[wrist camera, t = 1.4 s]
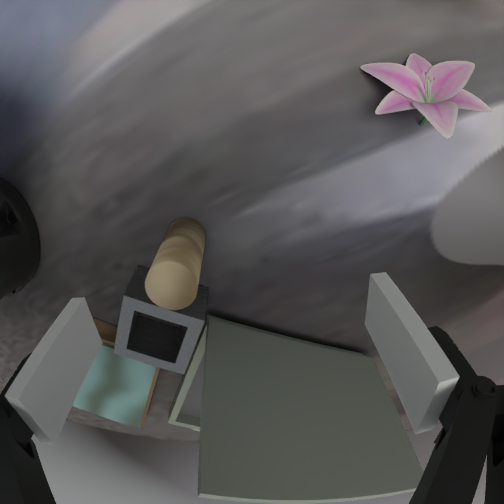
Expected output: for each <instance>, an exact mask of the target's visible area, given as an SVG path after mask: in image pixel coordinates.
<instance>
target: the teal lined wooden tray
mask: <svg viewBox="0 0 504 504" xmlns="http://www.w3.org/2000/svg"><path fill="white" fill-rule="evenodd" d="M92 318H93V317H92ZM93 321H94V323H95V326H96V328H97V331H98V333H99V335H100V338H101V340H102V345H101V347H100V349H99V351H98V353H97V354H96V356H95V358H94V361H93V363H92V365H91V367H90V369H89V371H88V373H87V375H86V377H85V379H84V381H83V383H82V385H81V387H80V390H79V392H78V394H77V396H76V398H75V400H74V403H73V405H72V406H74V407H77V408H79V409H82V410H85V411H87V412H90V413H93V414H96V415H99V416H102V417H105V418H108V419H111V420H114V421H117V422H120V423H123V424H126V425H130V426H133V427H137V428H143V426H144V422H145V418H146V415H147V411H148V408H149V404H150V401H151V397H152V394H153V390H154V387H155V384H156V380H157V377H158V373H159V370H160V368H159V367H155V366H152V365H149V364H146V363H142V362H139V361H136V360H133V359H130V358H127V357H124V356H121V355H118V354H115V353H114V347H115V341H116V335H117V329H118V326H115V325H112V324H109V323H106V322H104V321H101V320H98V319H95V318H93Z"/></svg>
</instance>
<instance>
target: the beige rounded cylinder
mask: <svg viewBox="0 0 504 504" xmlns="http://www.w3.org/2000/svg"><path fill="white" fill-rule="evenodd" d="M205 240H206V233H205V230H204V228H203V226H202V225H201V224H200V223H199V222H198V221H196V220H194V219H192V218H180V219H177V220H175V221H174V222H173V223H172V224H171V225H170V226H169V228H168V230H167V232H166V235H165V237H164V239H163V241H162V243H161V245H160V248H159V250H158V252H157V254H156V256H155V259H154V261H153V263H152V265H151V267H150V270H149V272H148V274H147V277H146V279H145V290H146V293H147V295H148V297H149V298H150V299H151V300H152V301H153V302H154V303H155V304H156V305H158V306H160V307H162V308H164V309H168V310H179V309H183V308H185V307H187V306H189V305H190V304H191V303H192V302H193V301H194V300H195V298H196V295H197V290H198V284H199V277H200V271H201V265H202V258H203V252H204V246H205Z"/></svg>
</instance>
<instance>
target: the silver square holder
mask: <svg viewBox="0 0 504 504" xmlns="http://www.w3.org/2000/svg"><path fill="white" fill-rule="evenodd" d="M149 270H150V269H149V268H146V267H143V266H140V265H139V266H138V268H137V270H136V272H135V274H134V276H133V277H132V279H131V281H130V283H129V286H128V288H127V290H126V292H125V294H124V296H123V301H122V307H121V312H120V317H119V323H118V329H117V335H116V341H115V347H114V353H115V354H118V355H121V356H124V357H127V358H130V359H133V360H136V361H139V362H142V363H146V364H149V365H152V366H155V367H159V368H162V369H166V370H169V371H173V372H176V373H180V374H184V373H185V371H186V368H187V366H188V363H189V360H190V358H191V355H192V353H193V350H194V348H195V345H196V343H197V340H198V337H199V335H200V332H201V330H202V327H203V325H204V322H205V315H206V305H207V295H208V288H207V287H204V286H201V285H198V290H197V295H196V298H195V300H194V301H193V302H192V303H191V304H190V305H189V306H187V307H185V308H183V309H179V310H168V309H164V308H162V307H160V306H158V305H156V304H155V303H154V302H153V301H152V300H151V299H150V298H149V297H148V295H147V293H146V290H145V279H146V277H147V274H148V272H149ZM139 312H141V313H144V314H147V315H150V316H153V317H156V318H160V319H163V320H166V321H169V322H172V323H176V324H179V325H182V328H181V329H180V328H176V327H173V326H170V325H167V324H163V323H160V322H157V321H154V320H151V319H148V318H145V317H141V316H138V315H139Z"/></svg>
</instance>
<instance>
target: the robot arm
mask: <svg viewBox="0 0 504 504" xmlns="http://www.w3.org/2000/svg"><path fill="white" fill-rule="evenodd" d="M39 257H40V242H39V235H38V231H37V227H36V223H35V220H34V218H33V215H32V213H31V211H30V209H29V207H28V205H27V203H26V202H25V200H24V199H23V197H22V196H21V195H20V193H19V192H18V191H17V190H16V189H15V188H14V187H13V186H12V185H11V184H9V183H8V182H6V181H5V180H3V179H1V178H0V299H1V298H3V297H4V296H10V295H12V294H15V293H17V292H18V291H20V290H21V289H22V288H23V287H24V286H25V285H26V284H27V283H28V282H29V280H30V279H31V278H32V277H33V275H34V274H35V272H36V269H37V267H38V263H39ZM365 326H366V328H367V330H368V332H369V334H370V336H371V338H372V340H373V342H374V344H375V346H376V348H377V350H378V353H379V355H380V357H381V359H382V361H383V363H384V365H385V367H386V369H387V372H388V374H389V376H390V378H391V380H392V382H393V385H394V387H395V389H396V391H397V394H398V396H399V398H400V400H401V402H402V405H403V407H404V409H405V412H406V414H407V416H408V419H409V421H410V423H411V426H412V428H413V430H414V433H415V434H418V433H422V432H425V431H428V430H431V429H434V427H435V425H436V424H437V422H438V420H440V422H441V424H442V426H443V428H442V429H441V431H440V433H439V435H438V436H437V438H436V440H435V441H434V443H436V444H435V447H434V450H433V452H432V455H431V457H430V459H429V462H428V464H427V467H426V469H425V471H424V473H423V475H422V478H421V480H420V482H419V484H418V486H417V488H416V490H415V492H414V495H413V496H412V498H411V500H410V502H409V504H472V501H473V498H474V495H475V492H476V489H477V486H478V483H479V480H480V476H481V473H482V470H483V466H484V463H485V459H486V455H487V474H486V491H485V503H484V504H504V385H496V384H495V383H494V382H493V381H492V380H491V379H489V378H487V377H484V376H477V375H476V373H475V372H474V370H473V369H472V367H471V366H470V364H469V363H468V362H467V360H466V359H465V357H464V356H463V354H462V353H461V352H460V351H459V350H458V347H457V346H456V345H455V343H453V341H452V339H451V338H450V336H449V335H448V334H447V333H446V332H445V331H443V330H442V329H440V328H439V327H437V326H435V327H430V328H427V327H426V326H425V324H424V323H423V322H422V320H421V319H420V317H419V316H418V315H417V313H416V312H415V310H414V309H413V308H412V306H411V305H410V304H409V302H408V301H407V300H406V298H405V297H404V295H403V294H402V293H401V291H400V290H399V289H398V288H397V286H396V285H395V284H394V282H393V281H392V280H391V278H390V277H389V276H388V274H387V273H386V272H384V273H376V274H370V282H369V292H368V301H367V310H366V318H365ZM101 345H102V340H101V338H100V335H99V333H98V331H97V328H96V326H95V323H94V321H93V318H92V316H91V313H90V310H89V308H88V305H87V303H86V300H85V297H83V298H72V299H71V300H70V301H69V303H68V304H67V305H66V307H65V308H64V309H63V311H62V312H61V313H60V315H59V316H58V317H57V319H56V320H55V321H54V323H53V324H52V325H51V327H50V328H49V330H48V331H47V332H46V334H45V335H44V337H43V338H42V339H41V341H40V342H39V344H38V345H37V347H36V348H35V349H34V351H33V352H32V353H30V354H29V355H28V356H27V357H26V358H24V359H23V360H22V362H21V363H20V365H19V366H18V368H17V370H16V371H15V372H14V374H13V377H11V378H10V380H9V381H8V383H7V385H6V386H5V388H4V389H3V391H2V393H1V394H0V504H56V502H55V500H54V497H53V495H52V492H51V490H50V487H49V485H48V482H47V479H46V477H45V474H44V471H43V468H42V465H41V462H40V459H39V456H38V453H37V450H36V446H35V444H34V442H33V440H32V439H31V437H32V435H33V433H34V434H35V435H36V437H37V438H38V439H39V440H40V441H41V442H43V443H48V444H51V445H55V444H56V442H57V439H58V437H59V435H60V432H61V430H62V428H63V425H64V423H65V421H66V418H67V416H68V414H69V412H70V409H71V407H72V405H73V403H74V400H75V398H76V396H77V394H78V392H79V390H80V387H81V385H82V383H83V381H84V379H85V377H86V375H87V373H88V371H89V369H90V367H91V365H92V363H93V361H94V358H95V356H96V354H97V353H98V351H99V349H100V347H101Z"/></svg>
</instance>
